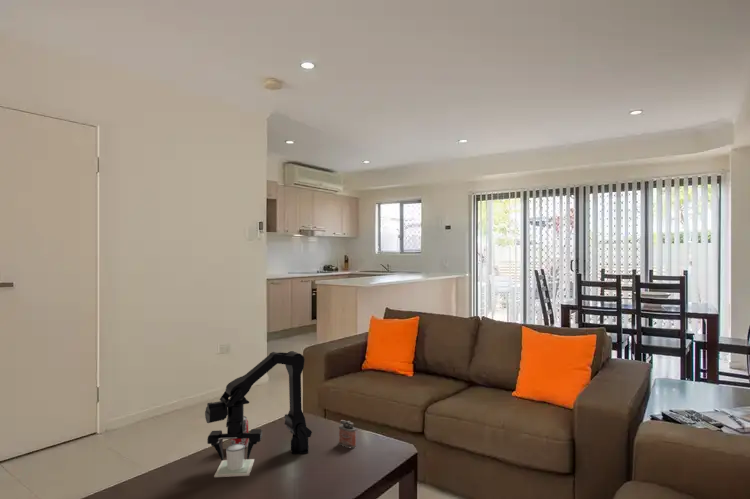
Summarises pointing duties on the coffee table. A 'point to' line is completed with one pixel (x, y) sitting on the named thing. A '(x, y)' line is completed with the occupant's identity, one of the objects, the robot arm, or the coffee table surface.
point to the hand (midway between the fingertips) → (235, 459)
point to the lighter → (347, 434)
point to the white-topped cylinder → (235, 456)
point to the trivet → (226, 472)
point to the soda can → (241, 441)
